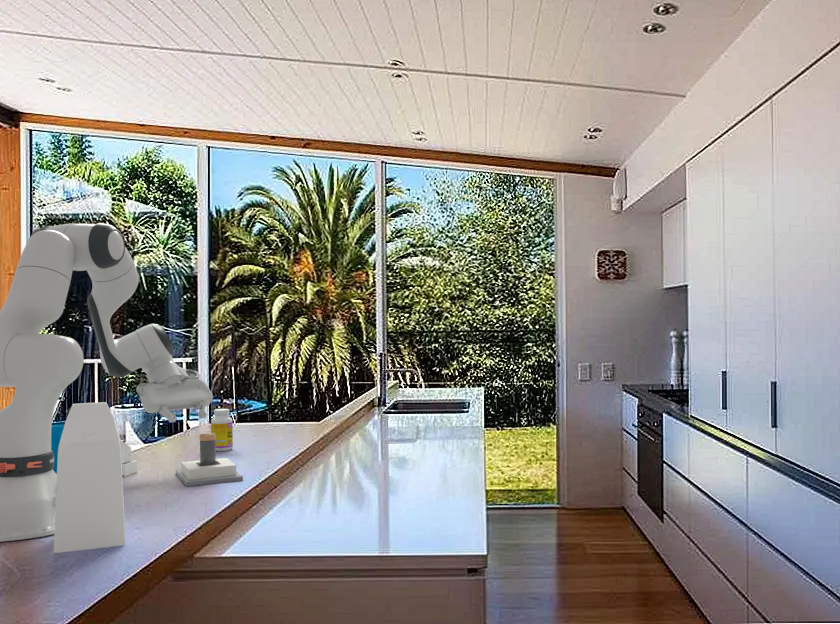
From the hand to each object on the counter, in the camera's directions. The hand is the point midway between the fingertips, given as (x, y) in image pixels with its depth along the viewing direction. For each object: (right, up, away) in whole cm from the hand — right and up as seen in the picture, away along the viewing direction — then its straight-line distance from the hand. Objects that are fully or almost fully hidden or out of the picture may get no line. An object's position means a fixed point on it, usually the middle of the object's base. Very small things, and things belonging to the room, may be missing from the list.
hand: (188, 418), depth 209 cm
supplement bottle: (0, -15, +37) cm, 40 cm away
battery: (+7, -13, -6) cm, 16 cm away
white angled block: (-17, -15, 0) cm, 23 cm away
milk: (0, -14, -63) cm, 65 cm away
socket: (+7, -15, -5) cm, 17 cm away
